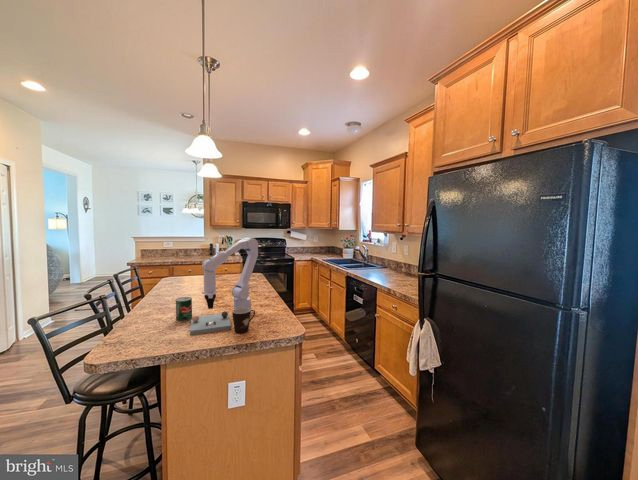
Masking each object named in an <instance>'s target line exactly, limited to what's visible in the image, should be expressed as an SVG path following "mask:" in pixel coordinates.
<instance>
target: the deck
mask: <svg viewBox="0 0 638 480" xmlns="http://www.w3.org/2000/svg"><path fill="white" fill-rule="evenodd" d="M192 318H193V316H192ZM190 321H191V322H190V330H189V334H190V336H195V335H201V334H208V333H215V332H216V333H217V332H223V331H224V332H225V331H231V330H232V325H231V320H230V317H229V315H228V316H227V317H225V318H224V317H222V313H218V314H217V313H215V314H208V315H200V316H199V320H198V321H197V322H194V321H193V320H192V319H191V320H190ZM209 322H213V323H214V325H211V326H207V325H208V323H209Z"/></svg>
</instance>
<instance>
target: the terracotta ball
mask: <svg viewBox="0 0 638 480" xmlns="http://www.w3.org/2000/svg"><path fill="white" fill-rule="evenodd" d="M192 317H193V318H192V319H191V321H192V320H193V321H194V322H197V321H198V320H199V316H198V315H196V314H195V315H192Z"/></svg>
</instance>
